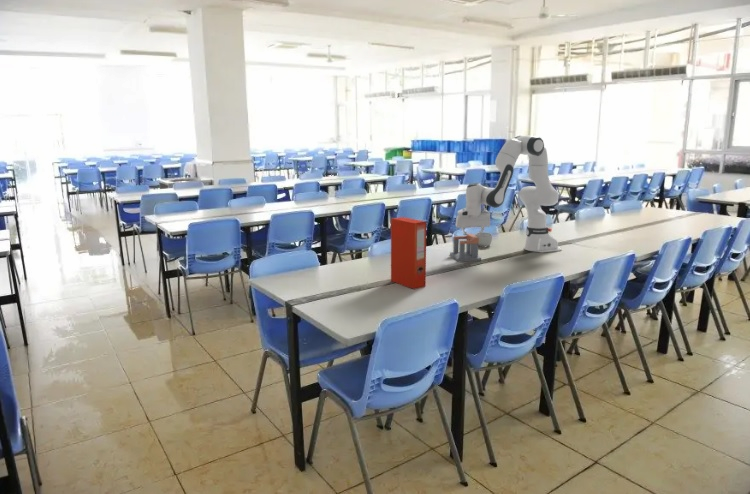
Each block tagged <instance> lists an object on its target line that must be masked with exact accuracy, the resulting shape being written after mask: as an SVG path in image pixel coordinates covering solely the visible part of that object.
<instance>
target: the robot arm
mask: <svg viewBox="0 0 750 494" xmlns="http://www.w3.org/2000/svg"><path fill="white" fill-rule="evenodd" d="M520 155H526V156H528V177H529V179H530V181H532V183H534V185H535V186H534V185H532V186H531V185H528V186H523V187H522V188H521V189H520V190H519V192H518V197H519V201H521V202H522V204H523V205H524V206H525V207H524V208H525V209H526V212H527V213H526V214H527V226H526V231H525V232H526V238H525V243H524V247H523V250H525V251H528V252H536V253H549V252H557V251H558V252H560V251H562V248H561V247H560V246H559V243H558V240H557V238H555V236H553V235H552V234H550V233H551V232H552V230H553V229H552V228H550V227H549V228H548V227H547V218H548V216H547V214H546V212H545V211H544V210H543V209H542V208H541V207H542V206H544V207H547V206H549V207H551V206H555V205H556V204H557V203H558V201H559V198H560V197H559V192H558V191H557V190H556V189H555V187H554V186H553V184H552V183H551V181H550V178H549V177H550V176H549V157H548V152H547V148H546V147H545V143H544V140H543V139H542V137H540V136H537V135H534V136H533V135H529V134H528V135H517V136H515V137H514V138H509V139H508V140H506V142H505V143H504V144H503V145H502V147H501V149H500V150H499V152H498V154H497V156H496V158H495V162H494V163H495V167H496V168H497V170H498V171H499V172H500V175H499V176H500V177H499V179H498V180H497V184H496V186H495V187H494V188H493V189H492V188H489V187H486V186H484V185H482V184H481V183H480V182H473V183H469V184H468V185H467V186H466V189H465V190H466V191H465V201H466V203H465V207H464V208H461V209H459V210H457V215H456V218H455V227H456V228H458V229H461V230H462V232H463V235H462V236H467V234H468V233H467V231H465V230H466V229H469V228H480V230H479V231H478V232H479V234H480V235H481V234H482V232H484V230H485V228H487V227H488V228H489V227H490V226H491V212H490V211H488V210H482V205H485V206H489V207H492V208H494V209H495V208H500V206H502V205H503V204H504V201H505V198H506V193H507V190H508V187H509V184H510V182H511V180H512V178H513V174H514V166H515V164H516V163H517V160H518V159H519V156H520Z"/></svg>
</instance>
